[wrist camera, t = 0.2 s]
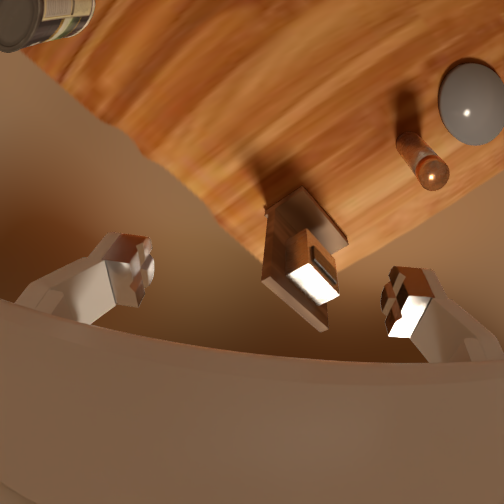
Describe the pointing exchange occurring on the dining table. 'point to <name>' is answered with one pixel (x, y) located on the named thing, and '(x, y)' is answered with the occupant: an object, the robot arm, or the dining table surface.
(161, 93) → the dining table surface
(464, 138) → the charcoal plate
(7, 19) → the coffee can
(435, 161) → the spice shaker
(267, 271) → the wooden mounting board
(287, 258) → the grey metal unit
